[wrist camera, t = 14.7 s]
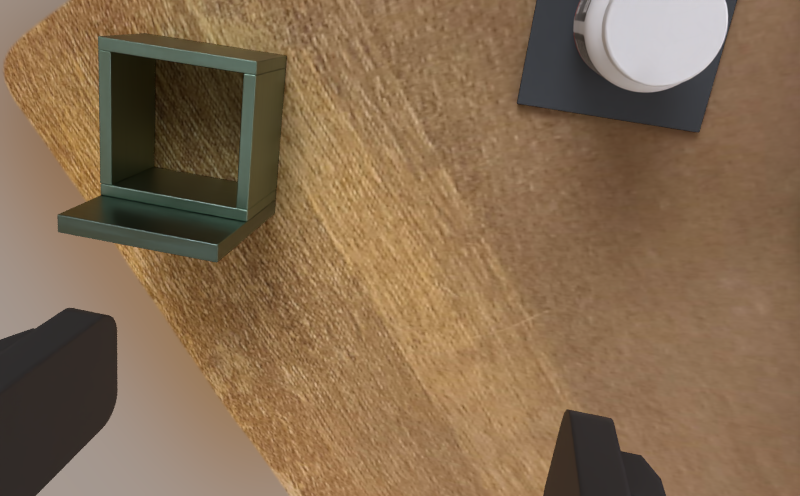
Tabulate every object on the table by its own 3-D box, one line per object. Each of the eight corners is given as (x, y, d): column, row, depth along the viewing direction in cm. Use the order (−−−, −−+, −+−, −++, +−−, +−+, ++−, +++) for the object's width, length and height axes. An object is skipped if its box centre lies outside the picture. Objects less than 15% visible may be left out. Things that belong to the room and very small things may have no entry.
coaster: (554, -92, 36) (554, -93, 35) (753, -66, 35) (756, -67, 34) (517, 102, 39) (516, 103, 39) (697, 131, 38) (699, 132, 38)
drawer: (145, 33, 41) (50, 39, 33) (287, 55, 40) (226, 67, 32) (143, 190, 45) (57, 232, 36) (274, 214, 44) (217, 263, 35)
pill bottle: (683, 74, 37) (739, 95, 28) (574, 84, 38) (593, 109, 29) (685, -42, 35) (745, -60, 26) (570, -28, 36) (589, -40, 27)
